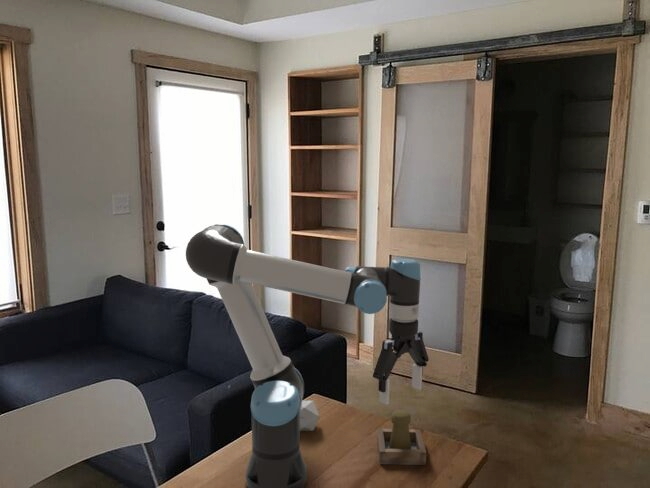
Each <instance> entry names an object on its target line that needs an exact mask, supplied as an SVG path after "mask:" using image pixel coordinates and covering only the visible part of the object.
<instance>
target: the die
mask: <svg viewBox="0 0 650 488" xmlns="http://www.w3.org/2000/svg"><path fill="white" fill-rule="evenodd" d="M319 418H320V414H319V412H318V409H317V406H316V403H315V402H314V400H302V405H301V412H300V432H312V431H314V430H315V428H316V427H317V426H316V425H317V422H318V420H319Z"/></svg>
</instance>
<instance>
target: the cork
mask: <svg viewBox="0 0 650 488" xmlns="http://www.w3.org/2000/svg"><path fill="white" fill-rule="evenodd" d="M390 417H391V418H390V419H391V423H392V428H391V429H392V434H391V440H390V446H389V449H411V443H410V434H409V429H410V427H409V425H410V424H411V420H412V417H411V414H410V413H409V412H408V411H407V410H403V409H397V410H395V411H393V412H392V413H391V416H390Z"/></svg>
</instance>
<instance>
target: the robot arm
mask: <svg viewBox="0 0 650 488" xmlns="http://www.w3.org/2000/svg"><path fill="white" fill-rule="evenodd" d="M185 248H186V249H185V259H186V263H187V265H188V267H189V268H190V269H191V270H192V272H193V273H195V274H196V275H197V276H199V277H201V278H204V279H206V281H207V283H208V285H209V286H212V287H215V288H216V289H217V291H218V293H219V295H220V297H221V300H222V302H223V304H224V307H225V309H226V312H227V314H228V316H229V318H230V320H231V322H232V325H233V327H234V330H235V332H236V334H237V336H238V338H239V342H240V343H241V345H242V348H243V350H244V352H245V354H246V356H247V359H248V361H249V363H250V366H251V368H252V371H251V372H250V377H249V378H250V380H251V382H252V384H253V386H254V390H253V392H252V395H251V401H250V412H251V446H252V448H251V449H252V451H251V455H250V457H249V461H248V463H247V467H246V470H245V485H246V487H247V488H304V487H305V485H306V484H307V481H308V469H307V466H306V462H305V460H304V457H303V453H302V452H301V448H300V447H301V446H300V445H301V443H300V441H301V436H300V435H301V434H300V433H301V431H300V412H301V405H302V401H303V398H304V394H305V382H304V379H303V377H302V374H301V373H300V371H299V369H297V368H295V366H294V364H293V362H292V360H291V358H290V357H289V356H286V355H283V353H282V351H281V349H280V346H279V344H278V341H277V339H276V337H275V334H274V332H273V330H272V328H271V325H270V323H269V320H268V318H267V316H266V314H265V311H264V309H263V307H262V304H261V302H260V298H259V297H258V295H257V293H256V291H255V288H254V286H253V285H256V286H260V287H265V288H269V289H275V290H279V291H282V292H288V293H293V294H297V295H301V296H306V297H310V298H315V299H321V300H324V301H329V302H334V303H337V304H338V303H339V304H343V305H347V306H351V307H356V308H357V309H358V310H359V311H360V312H362V313H364V314H368V315H373V314H377V313H379V312H381V311H382V310H383V309H384V308H385V306H386V303H387V299H388V297H390V298H389V310H388V311H389V312H388V313H389V314H388V315H389V319H388V321H389V323H388V331H389V333H390V334H391V338H390V340H386V339H383V341H382V344H381V351H380V353H379V355H378V359H377V362H376V364H375V368H374V370H373V374H372V377H373V378H374V379H376V380H378V385H377V386H378V388H377V389H378V402H380V403H382V404H384V405H386V406H388V405H389V404H390V385H391V384H390V381H391V380H390V379H389V377H390V375H391V373H392V371H393V369H394V367H395V365H396V363H397V361H398V359H400V358H401V356H402V355H404V354H406V353H408V354H409V356H410V358H412V360H413V362H414V363H413V364H412V369H411V370H412V372H411V373H412V375H411V387H412V388H413V389H416V390H418V391H420V390H422V385H423V384H422V383H423V381H422V380H423V374H424V373H423V371H424V368H426V367H427V363H428V362H429V356H428V353H427V348H426V345H425V343H424V337H423V336H424V335H423V332H422V331H419V314H420V313H419V309H420V308H419V307H420V296H421V295H420V293H421V289H420V288H421V280H422V278H421V263H419V261H418V260H416V259H412V258H394V259H393V260H392V261H391V263H390V266H383V267H382V266H360V265H357V266H347V267H346V268H345V270H341V269H336V268H330V267H326V266H322V265H317V264H313V263H308V262H305V261H299V260H294V259H291V258H287V257H282V256H277V255H273V254H269V253H268V254H267V253H263V252H259V251H255V250H250V249H248V248H247V247H246V245H245V242H244V238H243V236H242V234H241V233H240V231H238V229H236V228H235V227H233V226H231V225H229V224H223V223H219V224H213V225H210V226H207V227H205V228H204V229H203V230H201V231H198V232H197V233H196V234H194V235H193V236H192V237H191V238H190V240H189V241H188V243H187V246H186V247H185Z"/></svg>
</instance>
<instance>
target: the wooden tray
mask: <svg viewBox="0 0 650 488" xmlns="http://www.w3.org/2000/svg"><path fill="white" fill-rule="evenodd" d="M376 432H377V433H376V442H377V444H376V445H377V452H378V460H379V461H378V462H379V465H404V466H405V465H407V466H427V450H426V446H425V443H424V439H423V435H422V432H421V429H413V428H412V429H410V428H409V434H410V443H411V449H389V446H390V440H391V434H392V428H377V429H376Z"/></svg>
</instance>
